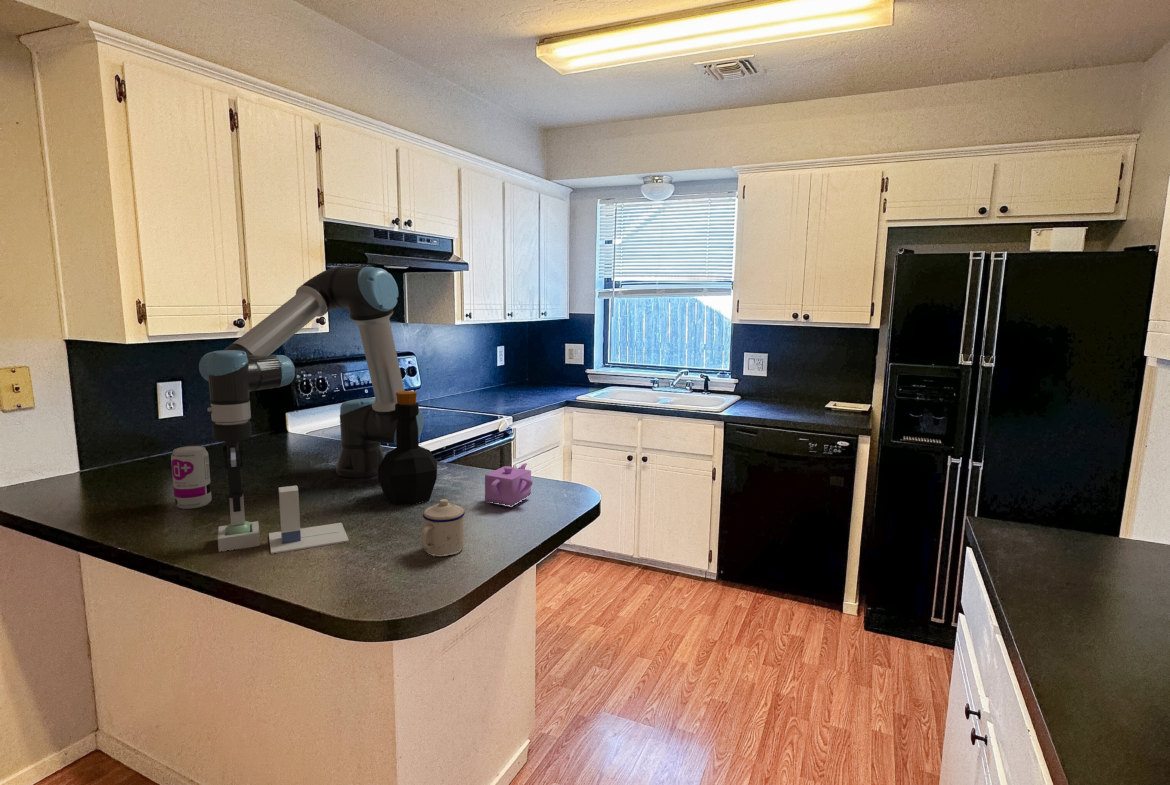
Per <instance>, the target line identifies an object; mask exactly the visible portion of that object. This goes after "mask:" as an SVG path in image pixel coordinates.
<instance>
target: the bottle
mask: <svg viewBox="0 0 1170 785" xmlns="http://www.w3.org/2000/svg"><path fill="white" fill-rule="evenodd" d="M417 395H418V391H415V390H414V391H413V390H404V391H400V392H396V396H397V403H396V404H395V415H397V416H398V422H397V429H396V440H397V445H396V447H395V448H393V449H392V450H390V451H387V453H386V454H385V455H384V459H383V461H382V462H381V464H380V466H379V468H378V475H377V477H378V478H377V480H378V483H379V486H380V487H381V491H382V493H383V496H384V498H385V501H386V502H387V501H388V502H387V503H390V504H392V505H395V506H398V505H399V506H401V505H402V506H403V505H404V504H415V505H417V504H416V503H418V504H420V503H419V502H421V503H423V502H422V501H424V502H426V501H425V500H427V501H429V500H428V499H431V496H432V494H433V491H434V488H435V485H436V481H437V477H438V461H437V460H436V457H435V456H434V455H433V453H432V451H431V450H430V449H428V448H425V447H423V446H419V444H420V440H419V439H420V436H419V433H418V424H417V418H416V416H417V415H418V414H419V405H420V404H419V402H417ZM404 506H405V505H404Z"/></svg>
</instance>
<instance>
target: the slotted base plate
mask: <svg viewBox="0 0 1170 785" xmlns="http://www.w3.org/2000/svg"><path fill="white" fill-rule="evenodd" d="M300 533H301V541H296V542H290V543H283V544H282V538H281V530H280V531H276V532H269V533H268V538H269V547H270V554H271V555H275V554H274V553H276V554H281V552H282V553H288V552H294V551H299V550H305V549H313V548H319V547H320V548H321V547H325V546H331V545H336V544H337V545H338V544H343V543H344V542H345V543H349V542H350V540H349V539H350V538H349V537H348V535H347V533H346V529H345V528H344V526H343V523H342V522H336V523H331V524H322V525H317V526H309V527H302V528H301V527H300Z"/></svg>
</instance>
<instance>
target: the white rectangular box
mask: <svg viewBox="0 0 1170 785" xmlns="http://www.w3.org/2000/svg"><path fill="white" fill-rule="evenodd" d="M299 496H300V495H299V487H298V485H289V486H288V485H287V486H281V487H278V502H279V519H280V531H281V538H282V544H283V543H290V542H296V541H301V533H300V529H301V516H300V513H301V512H300V500H299V499H300V498H299Z"/></svg>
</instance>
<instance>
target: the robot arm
mask: <svg viewBox="0 0 1170 785" xmlns="http://www.w3.org/2000/svg"><path fill="white" fill-rule="evenodd" d="M398 298H399V288H398V284H397V282H396V280H395V278H394V277H393V275H392V274H391V273H390V272H388V271H387V270H386V269H383V268H381V267H374V266H335V267H331V268H329V269H326V270H324V271H321V272H320V273H318V274H317V275H315V276H312V277H311V278H310V279H309V280H307V281H305V282H304V283H303V284H301V285H299V287H297V289H296V290H295V295H294V296H292V297H291V298H290V299H288V300H287V301H286V302H284V303H283V304H282V305H281V306H280V307H278V308H277V309H275V310H274V311H273V312H272V313H270V314H269V315H268V316H267V317H265V318H264V319H262V320H261V321H260V322H259V323H257V324H256V325H255V326H253V327H252V328H251V329H250V330H248V331H247V332H245V333H244V334H243V335H241V337H239V338H238V339H237V340H235V341H234V342H232V343H231V344H229V345H228V346H227V347H225V348H224V349H223V350H214V351H210V352H207V353H205V354H204V355H203V356H202V357H201V358H200V360H199V363H198V370H199V374H200V375H201V377H202V379H204V380H205V381H207V382H208V389H209V390H208V391H209V403H210V406H211V407H210V406H209V407H207V413H208V412H209V413H211V414H210V415H211V422H213V423H212V424H211V432H212V440H213V441H216V442H218V443H226V445H225V446H222V457H223V458H224V467H225V469H226V470H227V478H228V494H226V495H225V498H226V500H229V513H230V523H231V526H233V525H240V524H245V521H246V519H245V505H244V504H245V503H244V494H246V493H247V490H246V489H243V483H242V482H243V481H242V468H243V466H244V461H243V459H244V458H243V457H244V455H245V454H244V445H243V444H240V441H245V440H248V439H250V438H251V437H252V433H253V432H252V422H251V421H250V419H251V418H252V414H251V413H252V412H251V411H252V410H251V400H250V392H254V391H262V390H269V389H274V388H276V389H279V388H281V387H284V386H288V385H290V384H291V383H292V382H293V380H294V379H295V376H296V372H295V370H296V368H295V365H294V362H293V361H292V360H291V359H290V357H288V356H286V355H283V354H273V353H274V352H275V351H277V349H279V348H280V347H281V346H282V345H283V344H285V343H286V342H287V341H289V340H290V339H291V338H292V337H293V336H295V334H297V333H298V332H299V331H300V330H302V329H304V327H305V326H307V325H308V324H309V323H310V322H311V321H313V320H314V319H315V318H316V317H320V318H321V317H324V315H326V314H327V313H328V312H331V311H333V310H338V309H344V310H348V312H349V316H350V320H351V321H353V322H354V323H356V324H357V325H358V330H359V334H360V337H361V343H362V346H363V347H362V348H363V350H364V351H363V352H364V355H365V360H366V364H367V369H368V373H369V376H370V381H371V384H372V391H373V394H374V397H366V398H364V397H363V398H357V399H351V400H346V401H344V402H341V404H340V406H339V407H340V411H339V412H340V413H339V423H340V438H341V439H340V442H341V443H340V444H341V450H340V452H339V455H338V456H339V457H338V459H337V463H336V466H335V467H336V470H335V471H336V474H337V475H338V476H339V477H342V478H349V479H352V478H353V479H361V478H370V477H371V478H372V477H376V476H378V468H379V466H380V464H381V462H382V461H383V459H384V457H385V455H384V451H383V448H382V444H381V443H384V444H392V445H396V446H397V440H396V429H397V422H398V416H397V415H395V404H396V403H397V396H396V392H400V391H405V386H404V383H403V378H402V372H401V368H400V364H399V363H400V362H399V360H398V353H397V350H396V345H395V344H396V343H395V340H394V335H393V331H392V326H391V322H390V318H391V317H392V315H393V314H394V308H395V307H396V305H397V304H398ZM416 418H417V424H418V433H419V437H420V436H421V435H422V431H423V428H424V424H425V416H424V413H423V411H422V410H421V409H419V414H418V415H417V416H416Z"/></svg>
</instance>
